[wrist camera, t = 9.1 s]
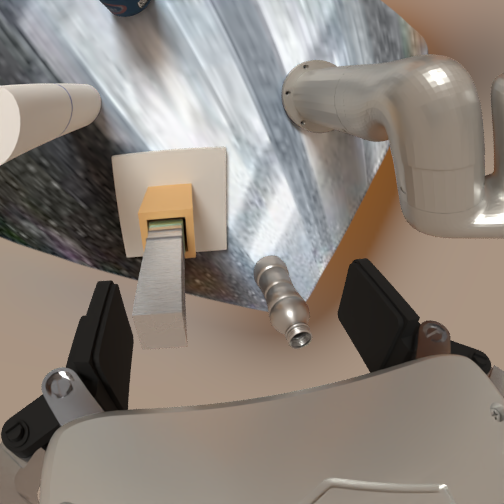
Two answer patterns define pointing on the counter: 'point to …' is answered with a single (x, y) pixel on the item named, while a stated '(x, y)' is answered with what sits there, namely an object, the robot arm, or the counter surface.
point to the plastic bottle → (283, 301)
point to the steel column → (162, 287)
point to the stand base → (173, 196)
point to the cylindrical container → (42, 114)
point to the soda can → (125, 6)
